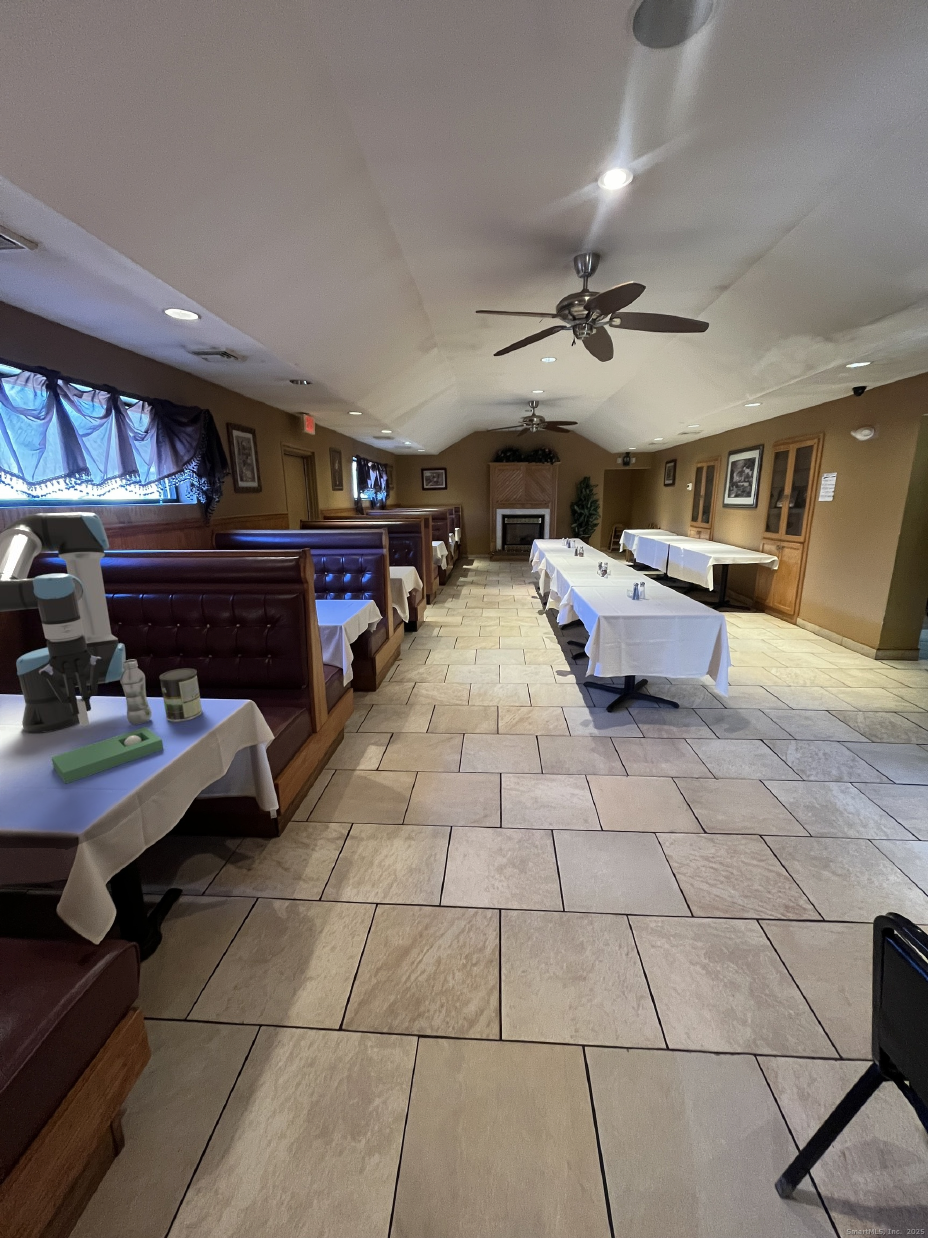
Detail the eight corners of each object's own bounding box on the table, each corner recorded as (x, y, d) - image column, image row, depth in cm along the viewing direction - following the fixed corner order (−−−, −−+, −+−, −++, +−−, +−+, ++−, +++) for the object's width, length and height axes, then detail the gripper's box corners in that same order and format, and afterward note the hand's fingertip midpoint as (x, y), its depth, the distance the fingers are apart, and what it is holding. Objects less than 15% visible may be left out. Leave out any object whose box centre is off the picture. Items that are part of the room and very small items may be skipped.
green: (53, 767, 129) (51, 757, 129) (147, 736, 146) (146, 726, 145) (65, 784, 122) (63, 773, 121) (163, 749, 138) (161, 739, 137)
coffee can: (165, 724, 153) (158, 682, 149) (166, 712, 162) (159, 671, 158) (203, 717, 158) (197, 675, 154) (202, 705, 166) (196, 666, 163)
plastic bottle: (127, 729, 150) (115, 666, 145) (129, 720, 156) (117, 660, 151) (152, 724, 153) (141, 662, 148) (153, 715, 159) (142, 656, 154)
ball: (130, 750, 139) (118, 743, 136) (141, 738, 141) (130, 731, 138) (135, 754, 136) (124, 747, 134) (147, 742, 138) (136, 734, 136)
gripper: (35, 646, 115) (56, 738, 121) (101, 634, 125) (118, 719, 131) (27, 640, 120) (49, 728, 126) (92, 628, 129) (109, 710, 136)
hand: (84, 723), depth 128 cm, fingers closed
